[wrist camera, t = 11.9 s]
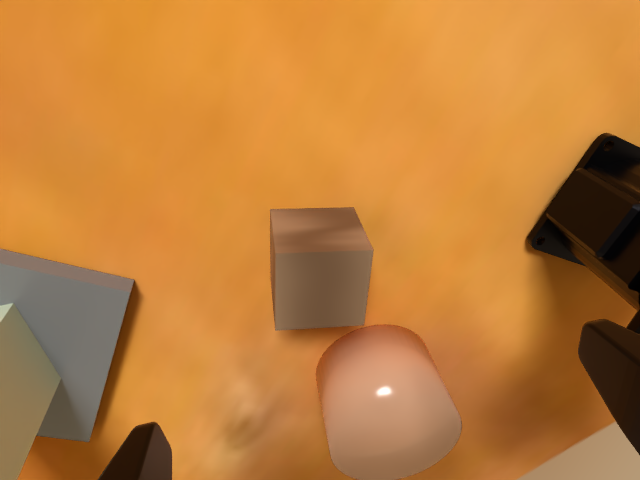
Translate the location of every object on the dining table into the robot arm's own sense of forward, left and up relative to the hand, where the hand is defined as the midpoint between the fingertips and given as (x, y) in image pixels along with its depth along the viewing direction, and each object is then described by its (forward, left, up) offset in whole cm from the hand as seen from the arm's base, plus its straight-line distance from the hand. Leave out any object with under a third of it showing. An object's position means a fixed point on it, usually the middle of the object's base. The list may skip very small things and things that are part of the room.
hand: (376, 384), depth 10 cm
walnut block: (-2, +4, -13) cm, 14 cm away
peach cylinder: (-9, +11, -13) cm, 19 cm away
